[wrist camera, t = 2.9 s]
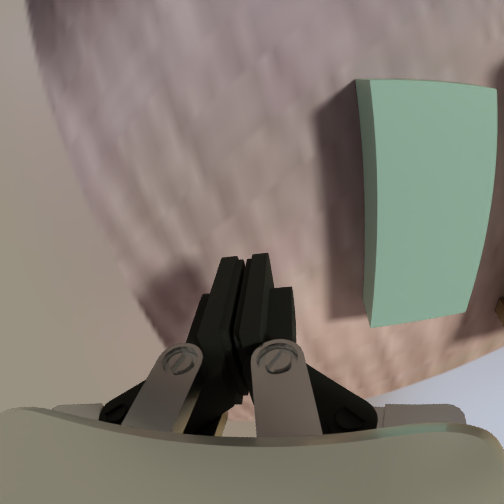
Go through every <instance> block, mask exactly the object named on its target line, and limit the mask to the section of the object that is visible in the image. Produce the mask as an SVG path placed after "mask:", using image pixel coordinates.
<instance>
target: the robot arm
mask: <svg viewBox="0 0 504 504" xmlns="http://www.w3.org/2000/svg"><path fill="white" fill-rule="evenodd" d="M248 393H250V396H251V399H252V402H253V404H254V410H255V422H256V434H257V437H256V438H255V437H221V436H222V433H223V430H224V427H225V425H226V422H227V419H228V410H229V409H230V408H232V407H233V406H234V404H242V400H243V396H245V395H248ZM0 504H504V449H503V447H502V446H501V444H500V443H499V441H498V440H497V438H496V437H495V436H493V435H492V434H491V433H490V432H488V431H487V430H484V429H482V428H479V427H475V426H472V425H467V424H466V419H465V415H464V413H463V412H462V411H461V410H460V408H458V407H455V406H454V405H450V404H426V405H425V404H424V405H406V404H405V405H404V404H386V405H385V407H373V406H372V405H371V404H369V403H368V402H367V401H365V400H364V399H362V398H360V397H359V396H357V395H355V394H354V393H352V392H350V391H349V390H347V389H346V388H344V387H342V386H341V385H339V384H338V383H336V382H334V381H333V380H331V379H330V378H328V377H326V376H325V375H323V374H322V373H320V372H319V371H317V370H315V369H314V368H312V367H311V366H309V365H308V364H306V361H305V357H304V353H303V351H302V349H301V347H300V346H299V345H297V344H296V319H295V307H294V298H293V290H292V287H282V288H274V283H273V277H272V271H271V265H270V259H269V255H268V253H261V254H253V255H252V259H247V262H246V267H245V263H244V260H243V259H242V260H239V259H238V257H237V256H233V257H223V258H222V259H221V261H220V264H219V267H218V270H217V273H216V277H215V280H214V283H213V286H212V289H211V292H210V294H203V295H202V297H201V300H200V302H199V305H198V308H197V311H196V314H195V317H194V320H193V323H192V326H191V329H190V332H189V335H188V338H187V341H186V343H180V344H176V345H173V346H171V347H169V348H167V349H166V350H165V351H164V352H163V353H162V354H161V355H160V356H159V358H158V360H157V361H156V364H155V365H154V367H153V368H152V370H151V372H150V374H149V376H148V377H147V379H146V380H145V381H143V382H141V383H140V384H138V385H136V386H135V387H133V388H131V389H130V390H128V391H126V392H124V393H123V394H121V395H119V396H118V397H116V398H114V399H113V400H111V401H109V402H108V403H107V404H106V405H105V406H103V405H102V404H101V403H100V404H80V405H79V404H78V405H59V406H56V407H54V408H53V409H52V410H50V409H46V408H38V407H19V408H12V409H9V410H6V411H3V412H1V413H0Z"/></svg>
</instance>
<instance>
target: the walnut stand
mask: <svg viewBox="0 0 504 504" xmlns="http://www.w3.org/2000/svg"><path fill="white" fill-rule="evenodd" d="M495 312H496V314H497V316H498V317H499V319H500V321H501V322H502V324H503V326H504V298H500V299H499V301H498V304H497V306H496V309H495Z"/></svg>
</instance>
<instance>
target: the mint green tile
mask: <svg viewBox="0 0 504 504" xmlns="http://www.w3.org/2000/svg"><path fill="white" fill-rule="evenodd" d="M355 83H356V91H357V99H358V108H359V118H360V129H361V141H362V155H363V173H364V202H365V255H364V284H363V302H364V305H365V309H366V313H367V317H368V320H369V324H370V328H374V327H381V326H388V325H395V324H401V323H408V322H414V321H420V320H426V319H431V318H437V317H442V316H448V315H453V314H458V313H463V312H466V309H467V306H468V303H469V299H470V296H471V293H472V289H473V286H474V283H475V279H476V275H477V271H478V268H479V264H480V259H481V255H482V251H483V246H484V242H485V237H486V232H487V226H488V221H489V215H490V209H491V202H492V195H493V186H494V177H495V166H496V152H497V89H494V88H489V87H484V86H478V85H472V84H465V83H456V82H446V81H433V80H416V79H355Z"/></svg>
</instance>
